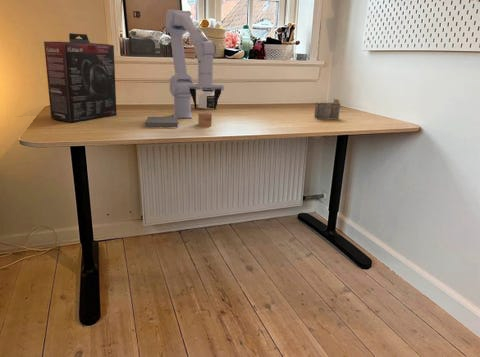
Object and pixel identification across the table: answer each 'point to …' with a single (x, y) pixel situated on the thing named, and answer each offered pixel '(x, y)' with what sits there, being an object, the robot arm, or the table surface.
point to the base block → (162, 122)
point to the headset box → (80, 79)
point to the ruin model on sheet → (327, 109)
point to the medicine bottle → (207, 99)
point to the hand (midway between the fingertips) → (205, 108)
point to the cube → (204, 118)
